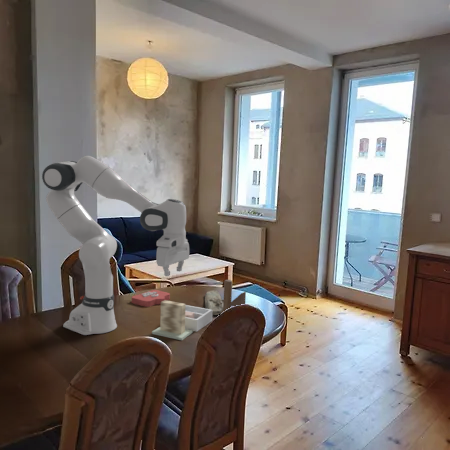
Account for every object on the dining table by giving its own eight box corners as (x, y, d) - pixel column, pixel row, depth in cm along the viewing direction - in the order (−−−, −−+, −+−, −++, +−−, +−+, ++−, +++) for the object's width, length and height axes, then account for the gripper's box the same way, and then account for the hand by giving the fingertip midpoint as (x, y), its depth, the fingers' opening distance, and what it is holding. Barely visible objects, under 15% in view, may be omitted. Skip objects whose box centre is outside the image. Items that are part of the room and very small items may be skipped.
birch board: (160, 329, 173) (160, 302, 172) (164, 327, 176) (164, 300, 174) (181, 334, 169) (181, 305, 168) (184, 332, 172) (185, 303, 170)
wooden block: (240, 324, 186) (241, 284, 184) (221, 318, 192) (222, 280, 190) (244, 321, 189) (246, 283, 186) (225, 316, 195) (227, 279, 193)
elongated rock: (221, 297, 230) (203, 298, 229) (220, 287, 229) (202, 288, 228) (227, 315, 195) (206, 317, 194) (227, 304, 195) (206, 305, 194)
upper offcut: (173, 320, 181) (173, 313, 180) (177, 317, 185) (177, 310, 184) (190, 322, 179) (191, 315, 178) (194, 319, 183) (194, 312, 182)
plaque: (151, 301, 202) (129, 296, 210) (151, 309, 203) (129, 303, 211) (175, 293, 217) (154, 288, 225) (175, 300, 217) (154, 295, 226)
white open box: (164, 324, 182) (164, 313, 181) (181, 314, 195) (181, 304, 195) (196, 331, 175) (197, 320, 175) (212, 320, 189) (212, 309, 188)
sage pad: (152, 333, 171) (152, 331, 171) (163, 326, 180) (163, 324, 179) (181, 340, 166) (181, 337, 166) (192, 332, 174) (192, 330, 174)
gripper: (180, 235, 178) (179, 267, 180) (153, 242, 160) (152, 277, 162) (193, 237, 176) (192, 269, 178) (168, 244, 157) (166, 279, 159)
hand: (173, 273), depth 169 cm, fingers open, 8 cm apart
